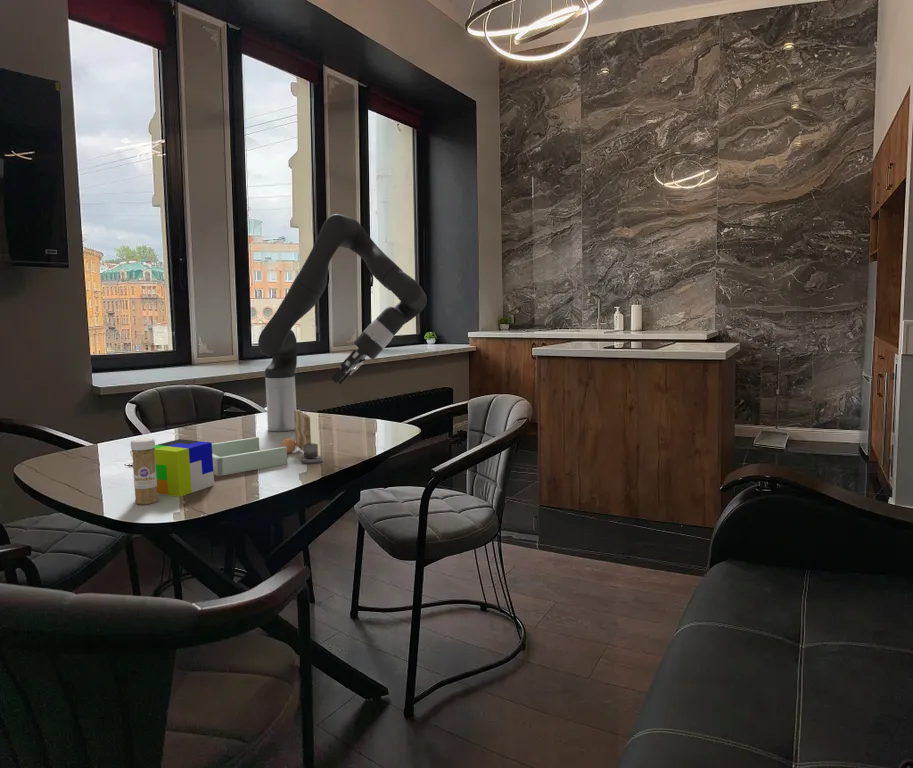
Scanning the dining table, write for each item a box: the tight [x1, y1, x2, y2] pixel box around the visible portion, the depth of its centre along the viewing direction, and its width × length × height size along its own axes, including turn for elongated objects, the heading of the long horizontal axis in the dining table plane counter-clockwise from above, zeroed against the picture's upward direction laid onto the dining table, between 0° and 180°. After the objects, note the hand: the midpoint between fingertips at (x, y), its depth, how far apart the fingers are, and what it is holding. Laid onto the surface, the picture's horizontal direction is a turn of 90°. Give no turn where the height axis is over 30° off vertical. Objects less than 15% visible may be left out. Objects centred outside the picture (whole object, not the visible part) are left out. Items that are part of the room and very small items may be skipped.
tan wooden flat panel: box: [294, 408, 319, 458], centre depth 180 cm, size 18×4×10 cm, turn 25°
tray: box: [212, 436, 288, 477], centre depth 173 cm, size 18×18×4 cm
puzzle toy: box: [154, 438, 215, 498], centre depth 151 cm, size 10×10×10 cm
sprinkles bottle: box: [130, 437, 159, 506], centre depth 140 cm, size 5×5×13 cm
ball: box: [280, 438, 297, 454], centre depth 185 cm, size 4×4×4 cm
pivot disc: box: [299, 455, 323, 465], centre depth 174 cm, size 6×6×1 cm
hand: (335, 381), depth 190 cm, fingers open, 8 cm apart
